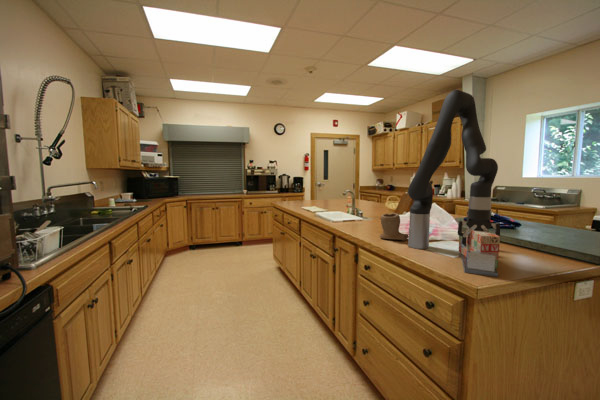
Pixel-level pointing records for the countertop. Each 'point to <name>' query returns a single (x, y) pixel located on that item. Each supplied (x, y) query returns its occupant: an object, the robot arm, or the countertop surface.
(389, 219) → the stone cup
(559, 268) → the countertop surface
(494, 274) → the vise bed
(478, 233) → the stack of blocks
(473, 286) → the countertop surface
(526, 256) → the countertop surface
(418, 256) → the countertop surface
